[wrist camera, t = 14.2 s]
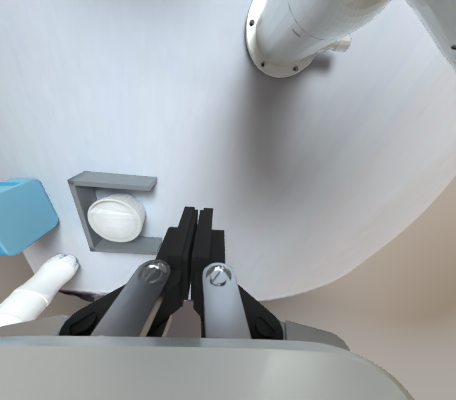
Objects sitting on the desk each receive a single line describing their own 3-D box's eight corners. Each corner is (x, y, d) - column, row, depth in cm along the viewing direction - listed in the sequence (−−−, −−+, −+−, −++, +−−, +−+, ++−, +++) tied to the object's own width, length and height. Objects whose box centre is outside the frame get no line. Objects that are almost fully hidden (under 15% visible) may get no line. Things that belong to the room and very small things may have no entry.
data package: (16, 176, 39) (-60, 203, 29) (38, 176, 39) (-29, 203, 29) (42, 222, 45) (-14, 259, 34) (61, 222, 45) (11, 259, 34)
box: (156, 177, 40) (148, 186, 36) (162, 240, 49) (156, 254, 44) (84, 171, 39) (67, 179, 35) (102, 237, 47) (90, 251, 43)
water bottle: (66, 272, 53) (-45, 393, 31) (47, 254, 50) (-92, 376, 27) (87, 265, 52) (-11, 386, 30) (70, 247, 49) (-56, 368, 27)
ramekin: (129, 180, 41) (117, 190, 36) (159, 218, 45) (152, 231, 41) (90, 200, 42) (74, 212, 38) (122, 234, 47) (112, 248, 43)
